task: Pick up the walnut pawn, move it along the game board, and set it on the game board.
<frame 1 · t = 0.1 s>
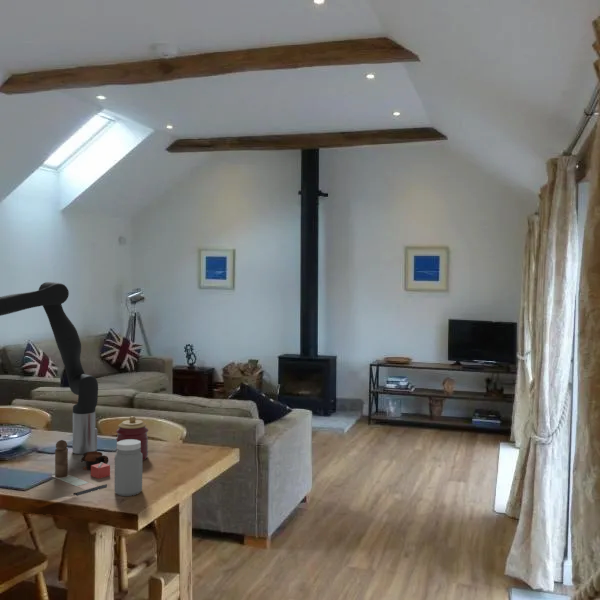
jar: (128, 492, 231), on the table
game board: (74, 484, 238), on the table
walnut pawn: (61, 475, 243), point 1 cm above the table, touching game board
canister: (132, 458, 271), on the table
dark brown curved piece: (94, 470, 255), on the table
red die: (100, 478, 245), on the table
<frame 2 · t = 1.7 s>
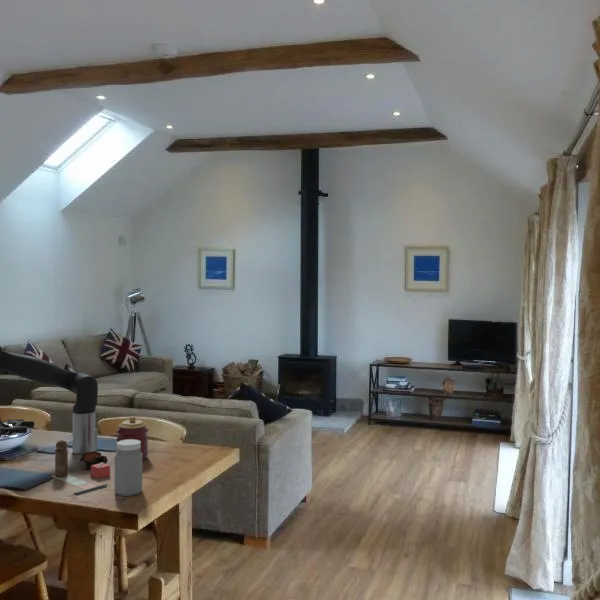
hand: (30, 427, 241), 20 cm above the table, tool horizontal, fingers open, 8 cm apart
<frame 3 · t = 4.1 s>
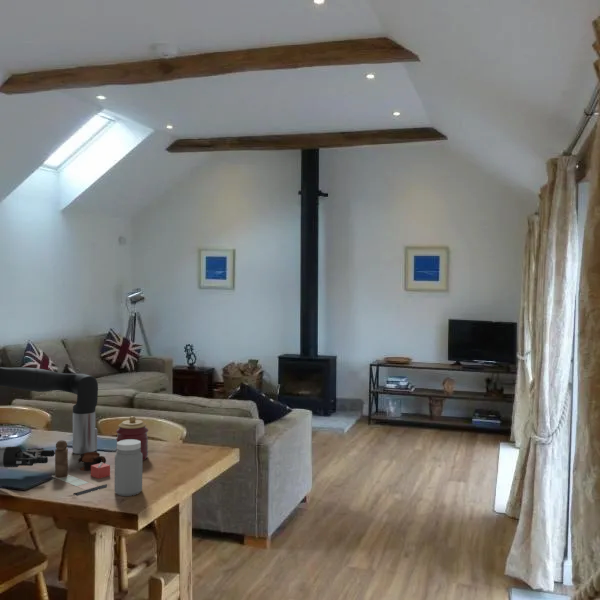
hand: (50, 456, 242), 8 cm above the table, tool horizontal, fingers open, 8 cm apart
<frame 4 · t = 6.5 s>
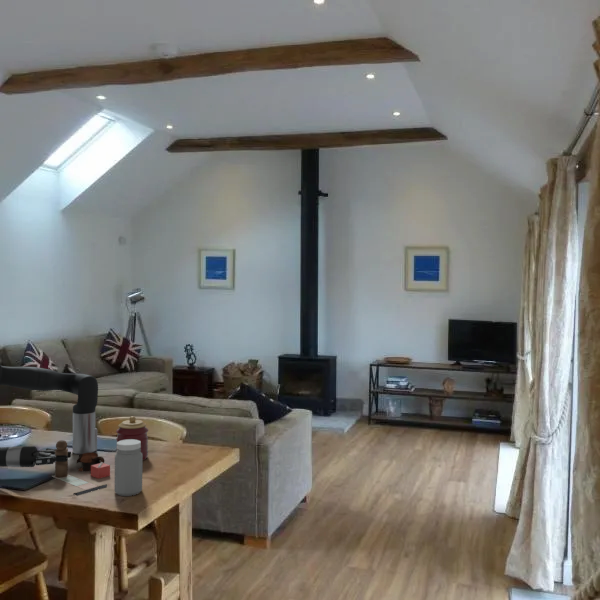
hand: (68, 456, 243), 9 cm above the table, tool horizontal, fingers closed on walnut pawn, 4 cm apart
walnut pawn: (61, 475, 243), point 1 cm above the table, touching game board, gripper
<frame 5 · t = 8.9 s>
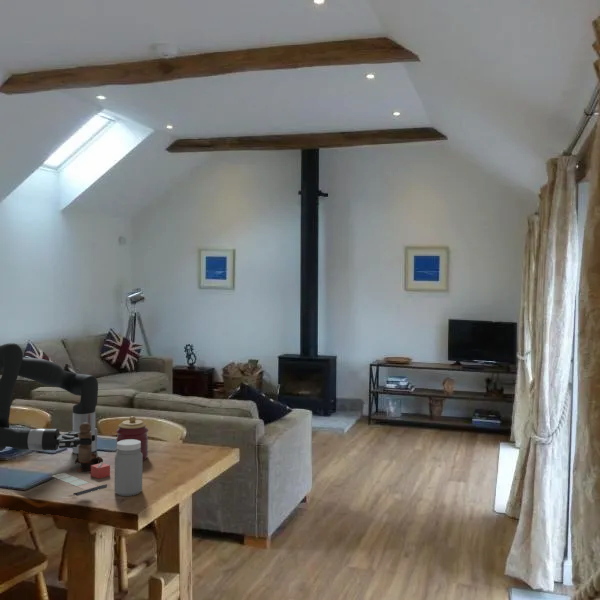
hand: (93, 439, 232), 18 cm above the table, tool horizontal, fingers closed on walnut pawn, 4 cm apart
walnut pawn: (84, 460, 232), point 11 cm above the table, touching gripper
when the fingers open (9 cm above the table, at t = 11.4 s): walnut pawn stays where it is, resting on game board.
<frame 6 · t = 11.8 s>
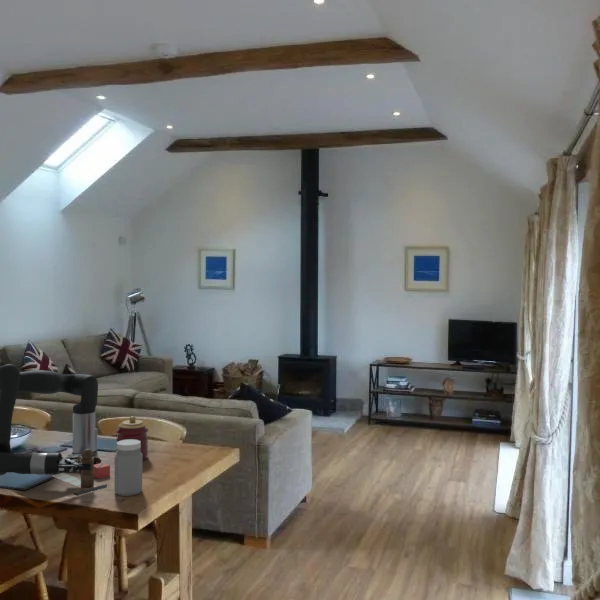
hand: (93, 463, 232), 10 cm above the table, tool horizontal, fingers open, 8 cm apart
walnut pawn: (87, 486, 232), point 1 cm above the table, touching game board
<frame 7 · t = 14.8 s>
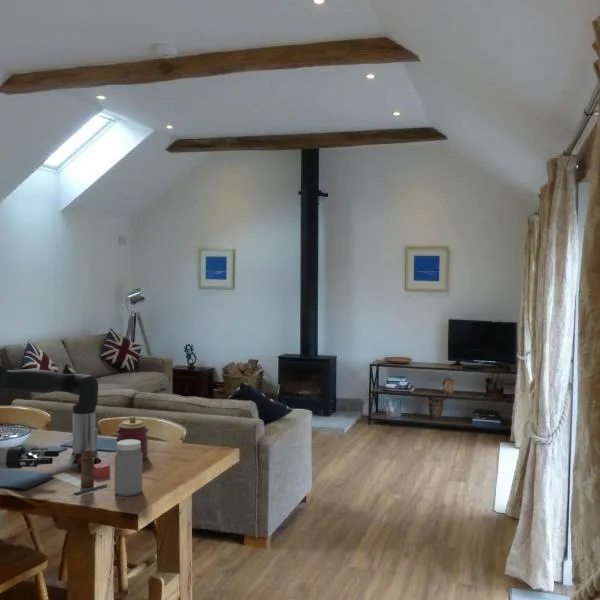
hand: (55, 457, 233), 11 cm above the table, tool horizontal, fingers open, 8 cm apart
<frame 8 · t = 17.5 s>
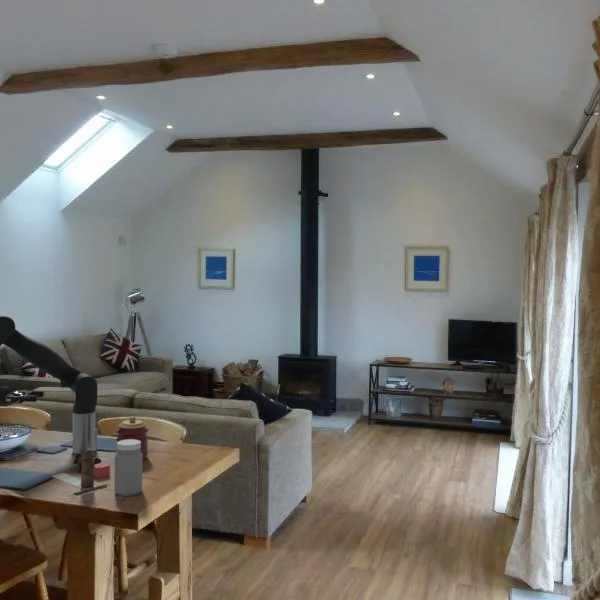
hand: (40, 396, 246), 30 cm above the table, tool horizontal, fingers open, 8 cm apart
at the end: walnut pawn 0.1 cm from the target spot on the game board, point 1.2 cm above the game board's base; walnut pawn tilted 2°; the gripper is holding nothing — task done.
